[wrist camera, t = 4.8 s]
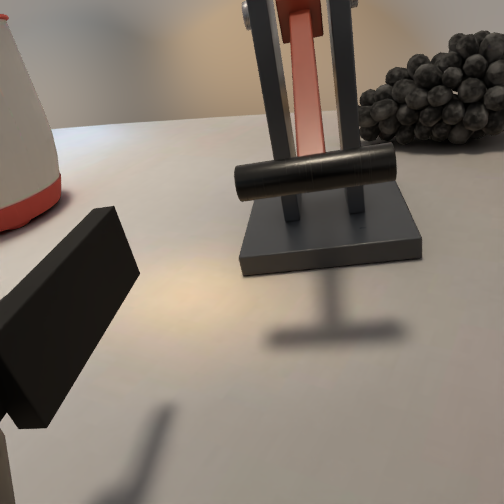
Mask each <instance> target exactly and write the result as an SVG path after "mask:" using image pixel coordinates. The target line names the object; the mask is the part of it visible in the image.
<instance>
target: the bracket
mask: <svg viewBox="0 0 504 504" xmlns="http://www.w3.org/2000/svg"><path fill="white" fill-rule="evenodd" d="M326 2H327V11H328V23H329V33H330V43H331V54H332V65H333V75H334V86H335V96H336V105H337V106H336V107H337V117H338V128H339V138H340V149H341V150H344V149H350V148H357V147H361V143H360V129H359V115H358V102H357V89H356V88H357V87H356V74H355V60H354V47H353V32H352V18H351V8H354V7H357V5H358V0H326ZM242 13H243V18H244V23H245V27H246V29H247V30H251V31H252V36H253V42H254V48H255V54H256V59H257V65H258V71H259V77H260V82H261V88H262V94H263V99H264V105H265V111H266V117H267V123H268V128H269V134H270V140H271V145H272V151H273V157H274V160H278V159H285V158H291V157H296V152H295V145H294V139H293V132H292V125H291V118H290V112H289V106H288V99H287V92H286V85H285V78H284V71H283V64H282V58H281V51H280V44H279V37H278V31H277V24H276V17H275V10H274V4H273V0H246V1H244V2H242ZM421 257H422V237H421V235H420V233H419V231H418V228H417V226H416V224H415V222H414V220H413V218H412V215H411V213H410V211H409V209H408V207H407V205H406V202H405V200H404V198H403V196H402V194H401V192H400V189H399V187H398V185H397V183H396V181H391V182H384V183H376V184H369V185H362V186H354V187H347V188H339V189H332V190H325V191H317V192H310V193H302V194H295V195H288V196H280V197H273V198H265V199H258V200H254V203H253V207H252V211H251V214H250V218H249V222H248V226H247V229H246V233H245V237H244V240H243V244H242V248H241V251H240V255H239V261H240V266H241V270H242V274H243V275H244V276H245V275H255V274H265V273H275V272H285V271H295V270H305V269H315V268H325V267H335V266H345V265H355V264H365V263H375V262H385V261H395V260H405V259H415V258H421Z"/></svg>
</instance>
